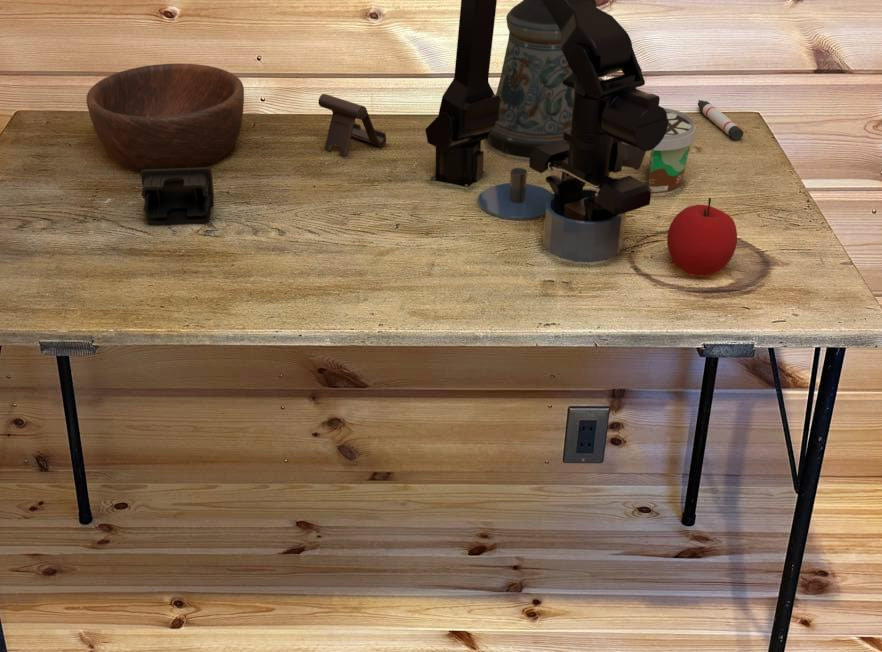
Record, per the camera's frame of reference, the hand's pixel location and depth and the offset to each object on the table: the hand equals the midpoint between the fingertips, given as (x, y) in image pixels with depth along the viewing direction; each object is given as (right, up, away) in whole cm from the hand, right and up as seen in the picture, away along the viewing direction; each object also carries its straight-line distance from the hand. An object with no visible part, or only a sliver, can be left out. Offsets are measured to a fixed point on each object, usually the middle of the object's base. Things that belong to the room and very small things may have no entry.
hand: (583, 232), depth 164 cm
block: (0, -1, +1) cm, 1 cm away
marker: (+29, +24, +37) cm, 53 cm away
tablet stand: (-33, +19, +31) cm, 49 cm away
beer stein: (-2, +20, +32) cm, 38 cm away
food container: (+16, +10, +17) cm, 26 cm away
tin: (0, -2, +1) cm, 2 cm away
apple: (+15, -6, -4) cm, 16 cm away
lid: (-8, +6, +12) cm, 15 cm away
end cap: (-58, +4, +12) cm, 59 cm away
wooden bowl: (-62, +18, +31) cm, 72 cm away
